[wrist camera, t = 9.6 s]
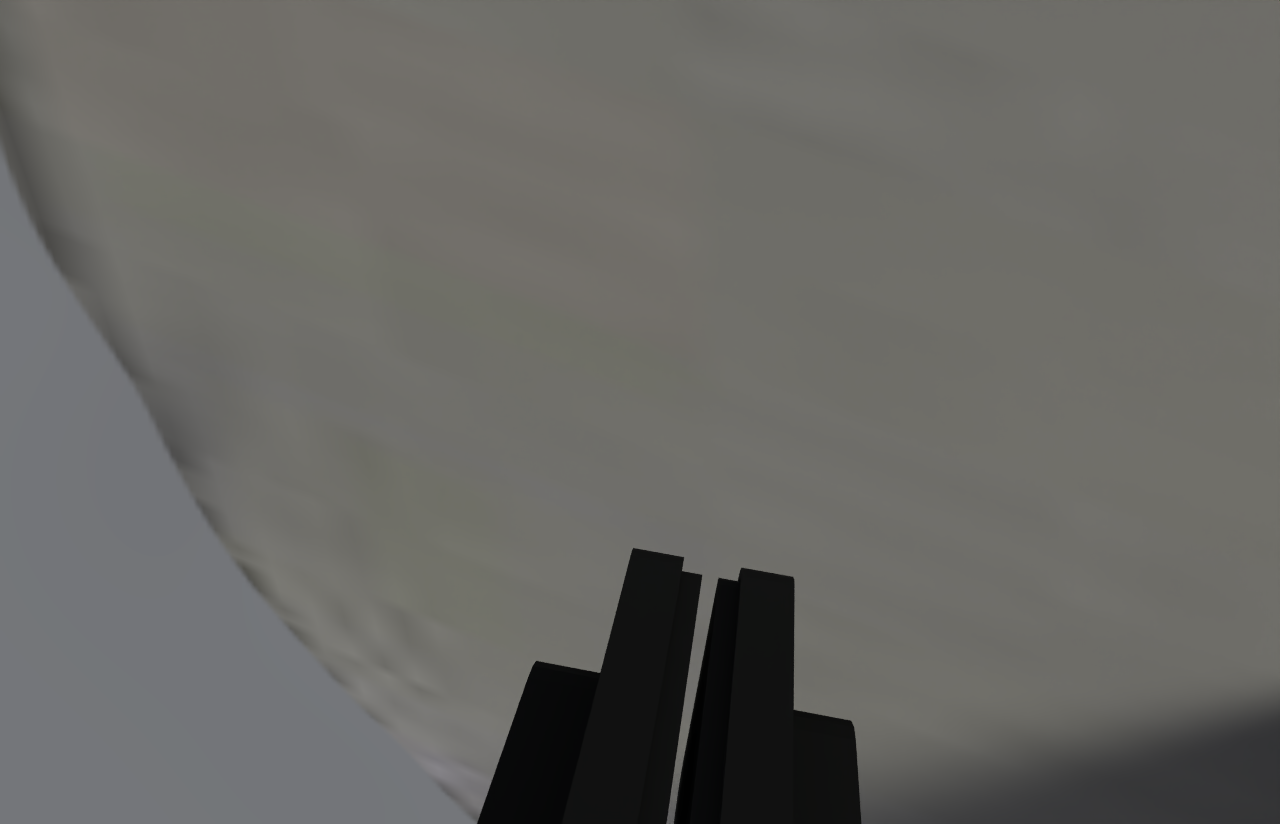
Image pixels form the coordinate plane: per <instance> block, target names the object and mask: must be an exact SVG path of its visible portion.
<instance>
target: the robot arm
mask: <svg viewBox="0 0 1280 824" xmlns="http://www.w3.org/2000/svg"><path fill="white" fill-rule="evenodd" d="M683 561H684V557H680V556H674V555H669V554H663V553H658V552H652V551H647V550H641V549H635V548H633V550H632V553H631V556H630V560H629V564H628V568H627V572H626V576H625V580H624V584H623V587H622V591H621V595H620V599H619V603H618V607H617V611H616V615H615V618H614V622H613V626H612V630H611V634H610V638H609V642H608V646H607V649H606V653H605V657H604V661H603V665H602V669H601V673H597V672H592V671H587V670H581V669H576V668H571V667H565V666H560V665H555V664H550V663H544V662H539V661H536V662H535V664H534V665H533V667H532V669H531V672H530V674H529V677H528V679H527V682H526V685H525V688H524V691H523V694H522V697H521V699H520V702H519V705H518V708H517V711H516V714H515V717H514V719H513V722H512V725H511V728H510V731H509V734H508V737H507V740H506V742H505V745H504V748H503V751H502V754H501V757H500V760H499V762H498V765H497V768H496V771H495V774H494V777H493V780H492V782H491V785H490V788H489V791H488V794H487V797H486V800H485V803H484V805H483V808H482V811H481V814H480V817H479V820H478V823H477V824H666V822H667V816H668V809H669V802H670V795H671V788H672V781H673V774H674V767H675V760H676V753H677V746H678V739H679V732H680V726H681V719H682V712H683V705H684V698H685V691H686V684H687V677H688V670H689V663H690V656H691V649H692V642H693V636H694V629H695V622H696V615H697V608H698V601H699V594H700V587H701V580H702V575H700V574H695V573H689V572H684V571H682V567H683ZM674 824H861V812H860V797H859V781H858V766H857V751H856V738H855V731H854V726H853V724H852V722H851V721H850V720H844V719H839V718H834V717H829V716H823V715H818V714H813V713H807V712H802V711H797V710H794V578H793V577H790V576H785V575H779V574H774V573H768V572H763V571H757V570H752V569H746V568H741V570H740V574H739V578H738V581H733V580H728V579H722V578H719V579H718V583H717V588H716V593H715V598H714V603H713V608H712V614H711V619H710V624H709V629H708V635H707V640H706V645H705V650H704V656H703V661H702V666H701V671H700V677H699V682H698V687H697V692H696V698H695V703H694V708H693V713H692V719H691V724H690V729H689V734H688V739H687V745H686V750H685V755H684V760H683V766H682V772H681V778H680V784H679V790H678V797H677V804H676V811H675V819H674Z"/></svg>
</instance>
